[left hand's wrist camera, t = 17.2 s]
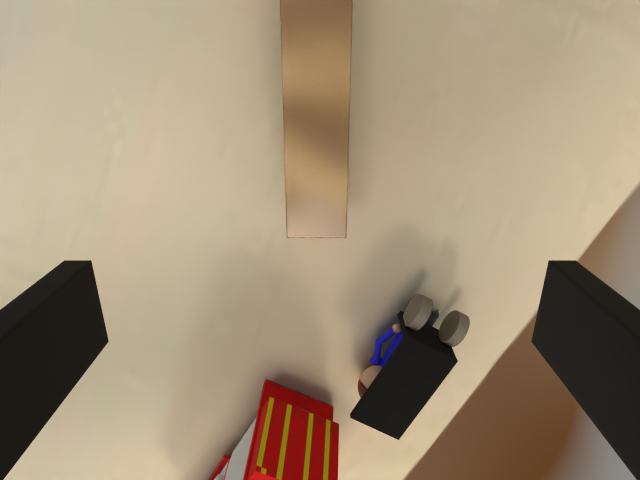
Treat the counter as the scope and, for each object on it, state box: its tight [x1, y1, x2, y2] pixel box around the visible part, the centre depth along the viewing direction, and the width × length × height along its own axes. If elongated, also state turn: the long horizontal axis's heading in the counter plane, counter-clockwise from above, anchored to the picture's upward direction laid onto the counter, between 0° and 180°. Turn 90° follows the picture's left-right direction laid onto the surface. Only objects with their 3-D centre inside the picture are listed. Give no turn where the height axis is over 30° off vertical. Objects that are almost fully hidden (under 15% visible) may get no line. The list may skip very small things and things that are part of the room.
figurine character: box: [350, 294, 470, 440], centre depth 47 cm, size 7×8×15 cm
